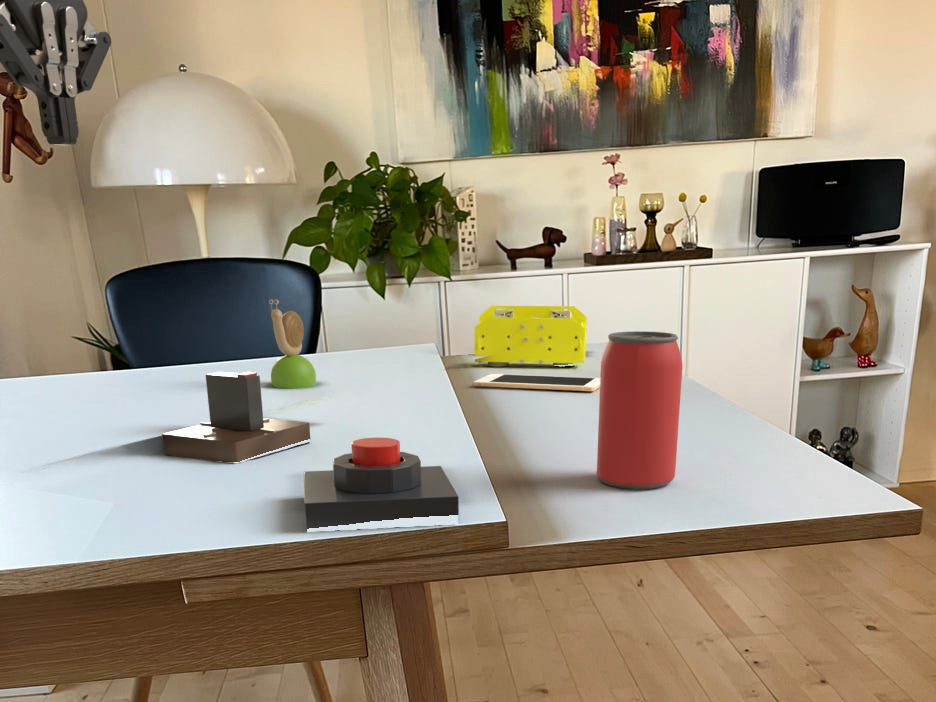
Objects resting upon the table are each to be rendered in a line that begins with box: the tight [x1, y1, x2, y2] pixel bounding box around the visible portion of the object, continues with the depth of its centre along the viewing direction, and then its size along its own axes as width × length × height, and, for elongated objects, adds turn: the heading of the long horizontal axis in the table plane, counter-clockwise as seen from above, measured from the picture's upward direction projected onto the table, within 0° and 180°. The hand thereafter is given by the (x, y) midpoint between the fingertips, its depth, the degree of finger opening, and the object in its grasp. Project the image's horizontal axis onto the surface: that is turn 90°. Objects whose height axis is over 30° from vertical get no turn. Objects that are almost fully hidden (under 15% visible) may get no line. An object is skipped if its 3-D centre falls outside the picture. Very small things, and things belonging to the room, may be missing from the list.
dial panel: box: [161, 417, 311, 463], centre depth 101 cm, size 11×9×2 cm
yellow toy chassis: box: [474, 305, 588, 367], centre depth 154 cm, size 16×6×8 cm, turn 82°
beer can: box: [596, 330, 684, 490], centre depth 86 cm, size 7×7×12 cm
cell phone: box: [473, 373, 600, 392], centre depth 137 cm, size 8×16×1 cm, turn 72°
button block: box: [303, 451, 460, 530], centre depth 79 cm, size 11×10×4 cm
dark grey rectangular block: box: [205, 371, 264, 431], centre depth 100 cm, size 5×2×5 cm, turn 61°
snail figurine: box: [268, 298, 317, 390], centre depth 125 cm, size 5×6×12 cm
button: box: [351, 437, 401, 466], centre depth 78 cm, size 4×4×2 cm
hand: (62, 144), depth 93 cm, fingers closed
